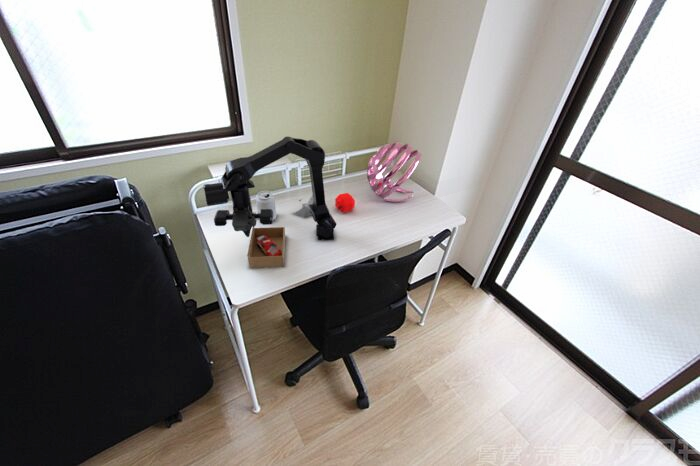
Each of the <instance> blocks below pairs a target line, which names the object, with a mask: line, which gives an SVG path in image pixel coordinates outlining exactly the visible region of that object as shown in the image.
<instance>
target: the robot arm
mask: <svg viewBox="0 0 700 466" xmlns="http://www.w3.org/2000/svg"><path fill="white" fill-rule="evenodd" d="M290 154H292V155H295V156H297V157H300V158H301V159H304V160H305V162H306V164H307V167H308V170H309V177H310V185H311V192H312V193H311V194H312V195H313V204H311V205H309V207H310V216H311V218H312V219H313V222H314V223H316V224H315V233H316V234H315V235H316V237H317V241H334V240H335V235H334V233H335V231H334V230H335V228H336V227H337V222H336V221H335V219H334V218H333V216H332V215H331V213H330V210H329V208H328V205H327V203H326V196H325V186H324V185H325V184H324V176H323V168H324V166H325V163H326V162H325V161H326V152H325V150H324V149H323V147H322V146H321V145H320V144H319V143H318V142H317V141H316V140H314V139H310V140H306V139H303V138H295V137H291V136H285V137H283V138H282V139H281V140H279V141H277V142H274V143H273V144H271V145H269V146H267V147H266V148H264V149H262V150H260V151H258V152H256V153H254V154H251V155H250V156H247V157H246V156H245V157H238V158H236V159H232V160H230V161H228V162H227V163H226V164H225V166H224V167H225V168H224V169H225V171H224V173H223V175H222V177H221V178H220V182H217V183H205V184H203V191H204V197H205V202H206V206H207V207H213V206H219V205H225V204H227V203H229V200H230V198H231V202H232V213H230V210H229V209H219V210H216V212H215V215H214V217H213V222H214V225H215V227H225V226H226V225H227V224H228V222H227V221H231V225H232V229H233V230H234V231H235V232H243V234H244V235H245V237H246V238H250V237H251V232H252V228H253V226H254V227H255V226H256V225H257V221H259V223H260V224H261V225H262V226H266V225H268V226H269V225H272V224H273V222H274V220H273V211H272V210H271V209H261V213H260V214H258V213H257V211H253V206H252V199H251V198H252V197H251V194H250V189H253V188H255V187H256V186H255V183H254V181H253V180H252V178H253V177H254V175H255V174H256V173H257V172H258V171H260V170H261V169H264V168H265V167H267V166H269V165H271V164H273V163H275V162H277V161H279V160H282V158H284V157H286V156H288V155H290ZM229 193H230V196H231V197H230V196H229Z"/></svg>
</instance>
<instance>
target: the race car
mask: <svg viewBox="0 0 700 466" xmlns="http://www.w3.org/2000/svg"><path fill="white" fill-rule="evenodd" d="M256 244H257V246H258V248H259V249H260V250H261V251H262V252H263V253H264V254H265V255H266V256H282V252H281V250H280V249H279V248H278V247H277V246H276V245H277V244H276V245H275V244H274V243H273V241H272V240H271V239H270V238H269V237H267V236H266V235H263V236H260V237H258V238H257V239H256Z"/></svg>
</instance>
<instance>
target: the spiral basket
mask: <svg viewBox="0 0 700 466" xmlns="http://www.w3.org/2000/svg"><path fill="white" fill-rule="evenodd" d="M402 144H403V143H402V142H401V141H394V142H393V143H392V144H390V143H385V144H383V145H382V146H381V147H380V148H379V149H378V150H377V151H376V153H374V155H372V156H371V158H370V159H369V161H368V163H367V169H366V178H367V182H368V185H369V186H370V189H371V190H372V191H373V193H374V194H375V195H376V196H377V197H379V198H380V199H381V200H384V201H386V202H391V203H401V202H406V201H407V200H409V199H411V198H412V197H413V196H414V195H413V193H414V191H413V190H407V189H403V188H400V187H401V186H402V185H403V184H405V182H406V181H407V179H408V178H410V176H411V175H412V174H413V172H414V171H415V169H416V168H417V167H418V165H419V163H420V161H421V160H422V152H421V151H420V150H419V149H414V150H413V148H414V147H413V144H410V143H405V144H403V145H402ZM403 152H404V153H403ZM402 153H403V154H402ZM401 154H402V155H401ZM400 155H401V157H400V158H399V160H397V162H396V163H395V165H394V166H393V167H392V168H390V170H389V171H388V172H387V173H386V174H385V175H384V176H383V173H384V172H385V171H386V170H387V169H388V167H389V166H390V165H391V164H392V163H393V162H394V161H395V159H396V158H397V157H399V156H400ZM413 157H415V158H414V159H413V161H412V163H411V164H409V165H410V166H408V168H407V169H406V170H405V172H404V173H403V174H402V176H401V177H400V178H399V179H397V180H396V182H395V183H394V184H393V183H392V182H391V179H392V178H393V177H394V176H395V175H396V174H397V172H398V171H399V170H400V169H402V167H403V166H404V165H406V163H408V161H410V160H411V159H412V158H413ZM383 159H384V160H383ZM386 187H388V189H387V190H386V191H384V190H385V188H386ZM394 192H399V193H404V194H411V195H409V196H407V197H404V198H402V199H390V198H387V197H389V196H390V195H392V194H393V193H394Z"/></svg>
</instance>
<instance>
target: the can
mask: <svg viewBox="0 0 700 466" xmlns="http://www.w3.org/2000/svg"><path fill="white" fill-rule="evenodd" d="M255 203H256V210H257V211H256V212H257V214H260V213H261V209H271V210H272V211H273V221H274V220H276V218H277V209H276V199H275V195H274V194H273V192H272V191H269V190H262V191H259V192H258V193H256V196H255Z"/></svg>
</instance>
